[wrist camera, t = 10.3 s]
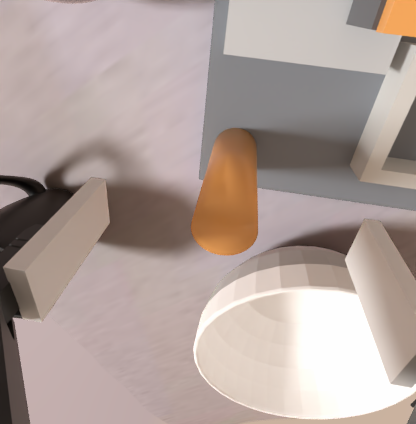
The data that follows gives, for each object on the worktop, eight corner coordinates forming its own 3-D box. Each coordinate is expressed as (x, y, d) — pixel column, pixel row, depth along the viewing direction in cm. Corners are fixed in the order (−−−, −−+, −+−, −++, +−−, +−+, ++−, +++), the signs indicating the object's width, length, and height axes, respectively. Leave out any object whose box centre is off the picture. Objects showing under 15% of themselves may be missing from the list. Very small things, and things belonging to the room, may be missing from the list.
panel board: (237, -208, 14) (232, -271, 11) (685, -168, 13) (824, -224, 10) (201, 170, 26) (193, 195, 22) (442, 205, 25) (471, 236, 22)
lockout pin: (216, 125, 22) (193, 197, 14) (260, 131, 22) (263, 207, 14) (211, 165, 24) (188, 250, 15) (252, 171, 24) (251, 259, 15)
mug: (52, 125, 25) (-38, 180, 17) (118, 236, 31) (74, 314, 23) (-21, 150, 27) (-131, 208, 20) (54, 249, 33) (-7, 324, 26)
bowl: (202, 328, 38) (191, 402, 31) (210, 202, 27) (195, 271, 20) (356, 349, 37) (381, 432, 30) (428, 225, 26) (494, 309, 19)
